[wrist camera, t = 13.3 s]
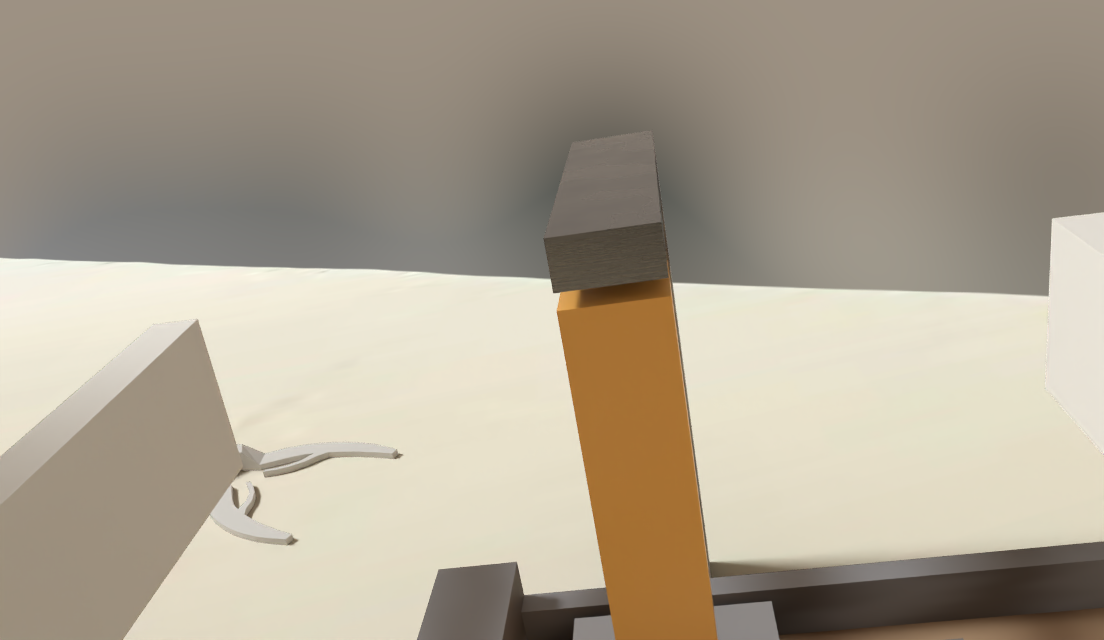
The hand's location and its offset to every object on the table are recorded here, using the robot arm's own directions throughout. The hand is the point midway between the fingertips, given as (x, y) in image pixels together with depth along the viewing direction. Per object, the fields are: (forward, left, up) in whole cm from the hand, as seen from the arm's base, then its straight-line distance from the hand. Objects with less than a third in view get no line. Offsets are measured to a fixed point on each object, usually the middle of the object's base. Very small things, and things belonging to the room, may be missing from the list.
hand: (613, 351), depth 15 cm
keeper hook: (-1, +16, -20) cm, 26 cm away
